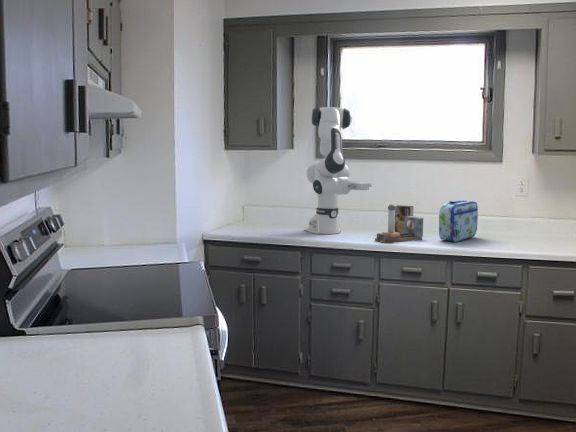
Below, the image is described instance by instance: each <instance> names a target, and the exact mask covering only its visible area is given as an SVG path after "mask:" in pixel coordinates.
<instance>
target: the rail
mask: <svg viewBox="0 0 576 432" xmlns="http://www.w3.org/2000/svg"><path fill="white" fill-rule="evenodd" d="M423 236H424V217H420V216H414V215H413V216H405V225H404V234H400V236H396V237H389V235H387V234H382V232H379V233H376V237H375V238H374V241H375V242H378V241H379V243H382V242H383V244H392V243H399V242H402V243H403V242H409V241H418V240H423Z"/></svg>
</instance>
